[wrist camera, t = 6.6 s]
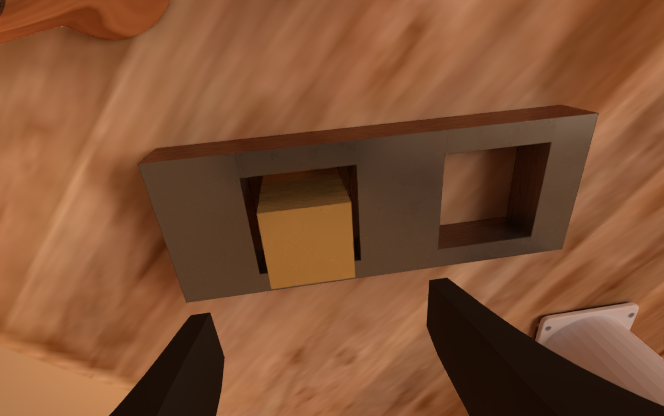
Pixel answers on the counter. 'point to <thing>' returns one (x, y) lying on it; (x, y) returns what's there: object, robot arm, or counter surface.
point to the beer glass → (80, 17)
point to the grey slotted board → (369, 194)
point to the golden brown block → (306, 227)
